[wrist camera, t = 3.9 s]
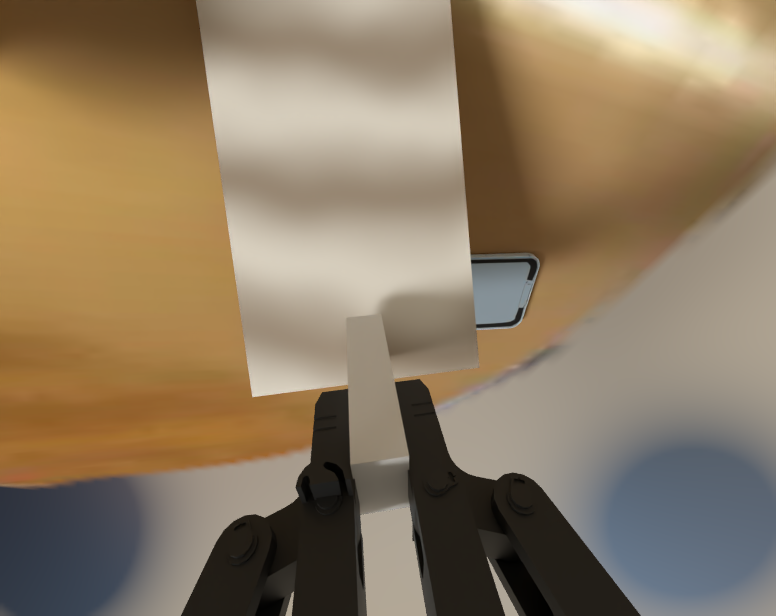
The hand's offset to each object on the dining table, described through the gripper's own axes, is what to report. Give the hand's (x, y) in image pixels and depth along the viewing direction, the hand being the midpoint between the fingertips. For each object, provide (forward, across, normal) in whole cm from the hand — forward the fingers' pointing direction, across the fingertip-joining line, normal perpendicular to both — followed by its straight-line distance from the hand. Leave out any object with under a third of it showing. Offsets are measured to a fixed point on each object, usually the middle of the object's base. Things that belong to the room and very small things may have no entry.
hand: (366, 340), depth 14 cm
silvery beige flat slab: (+6, 0, +5) cm, 8 cm away
